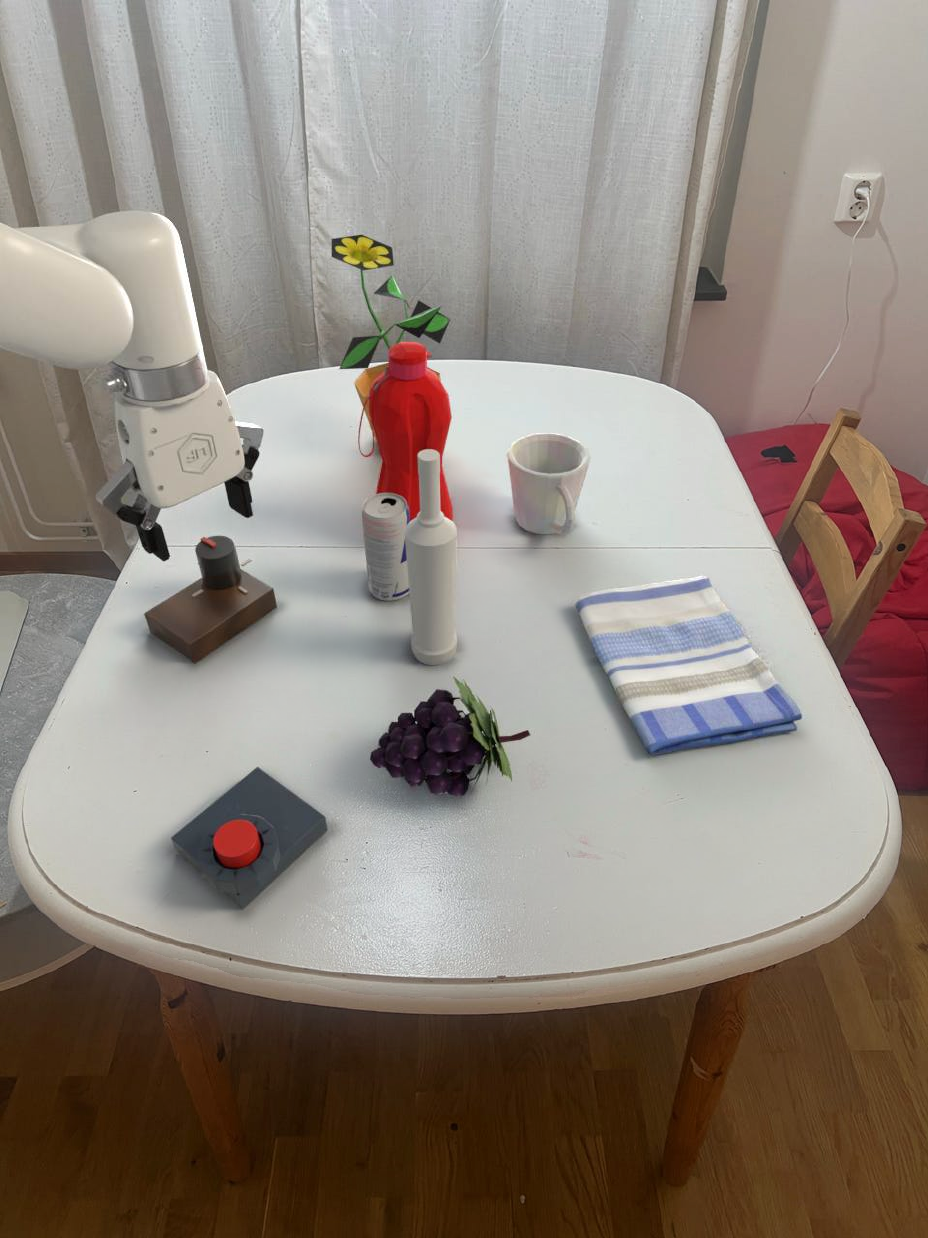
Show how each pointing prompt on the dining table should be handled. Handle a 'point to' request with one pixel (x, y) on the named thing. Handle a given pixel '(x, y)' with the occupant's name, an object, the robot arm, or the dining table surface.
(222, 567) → the dial
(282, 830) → the button box
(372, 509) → the energy drink
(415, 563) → the bottle
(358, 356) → the potted plant
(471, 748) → the fruit
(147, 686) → the dining table surface
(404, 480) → the water bottle
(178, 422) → the robot arm
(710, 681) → the dish towel
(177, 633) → the console
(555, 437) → the mug
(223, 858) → the plunger
